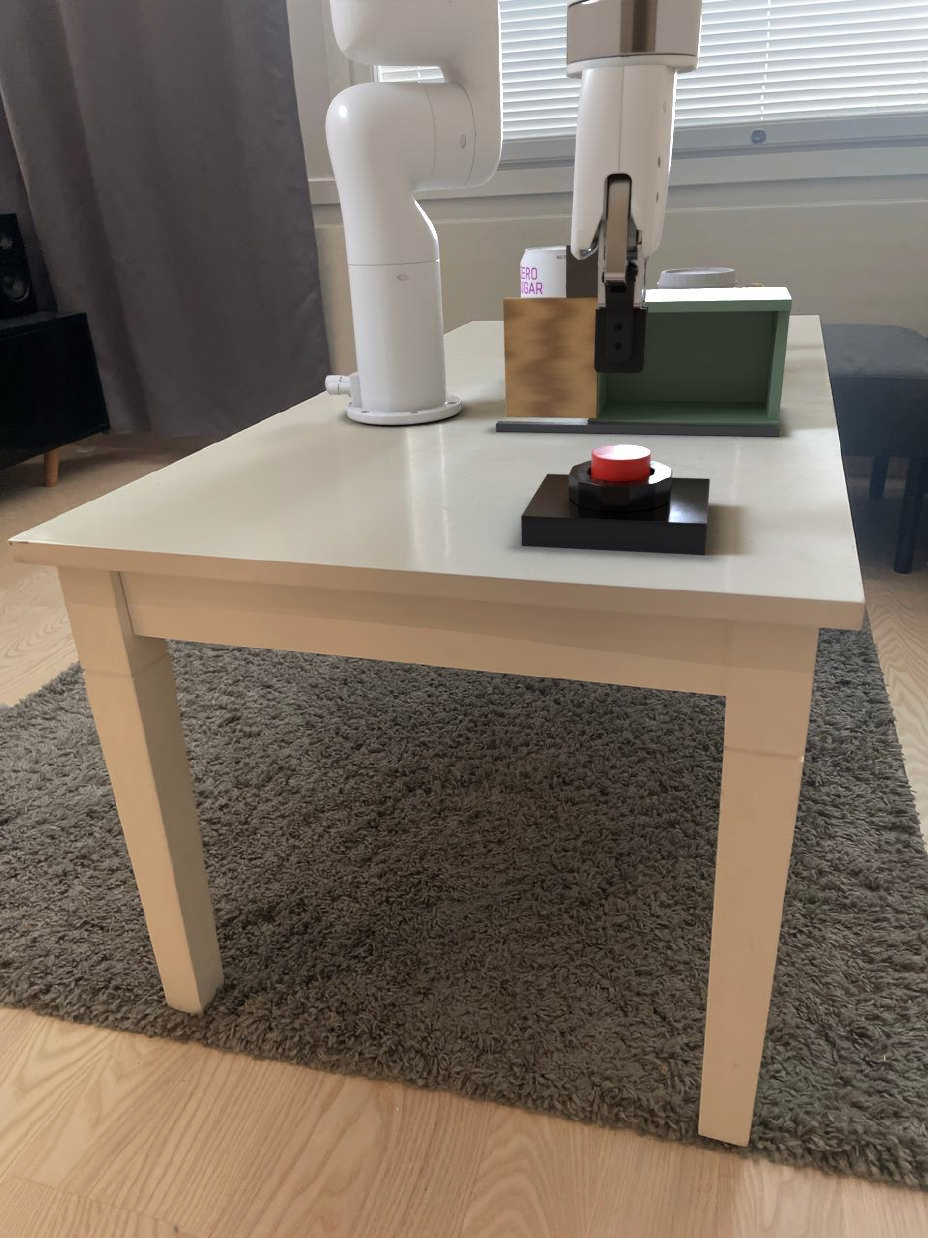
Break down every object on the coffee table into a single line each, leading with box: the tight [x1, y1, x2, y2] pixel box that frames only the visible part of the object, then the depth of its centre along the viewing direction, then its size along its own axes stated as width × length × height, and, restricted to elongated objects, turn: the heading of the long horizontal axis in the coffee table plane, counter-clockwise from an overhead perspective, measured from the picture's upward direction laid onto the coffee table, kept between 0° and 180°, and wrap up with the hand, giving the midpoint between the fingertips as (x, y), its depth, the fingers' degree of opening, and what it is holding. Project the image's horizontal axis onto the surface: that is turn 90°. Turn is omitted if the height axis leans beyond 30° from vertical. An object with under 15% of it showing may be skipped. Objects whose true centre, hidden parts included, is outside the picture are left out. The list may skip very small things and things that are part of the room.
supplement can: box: [519, 245, 566, 297], centre depth 117 cm, size 8×8×15 cm
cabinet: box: [495, 286, 793, 438], centre depth 90 cm, size 27×11×12 cm, turn 75°
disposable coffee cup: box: [656, 267, 739, 290], centre depth 112 cm, size 10×10×12 cm
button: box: [590, 444, 652, 481], centre depth 62 cm, size 4×4×2 cm
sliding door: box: [502, 243, 598, 419], centre depth 86 cm, size 9×1×16 cm, turn 75°
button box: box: [520, 459, 711, 556], centre depth 63 cm, size 12×10×4 cm
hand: (619, 369), depth 60 cm, fingers closed
